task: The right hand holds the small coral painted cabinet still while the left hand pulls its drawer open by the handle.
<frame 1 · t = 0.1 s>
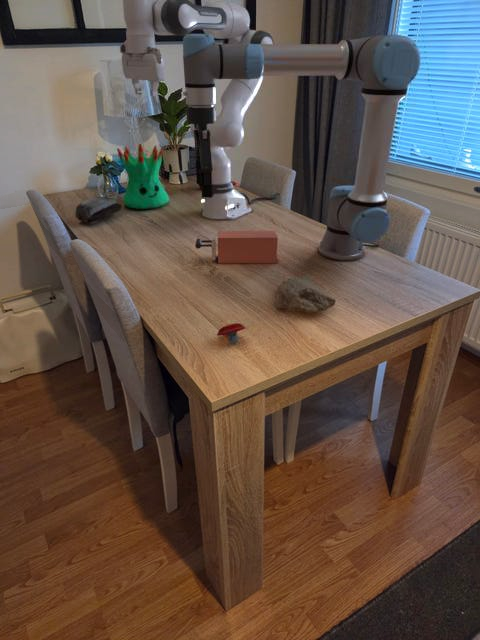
left hand: (146, 95, 149), 48 cm above the table, tool pointing down, fingers open, 8 cm apart
right hand: (204, 190, 124), 28 cm above the table, tool pointing down, fingers open, 13 cm apart
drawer: (231, 247, 150), point 5 cm above the table, slide at 0.9 cm
toy 2: (146, 204, 204), on the table
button: (231, 340, 110), on the table
artifact: (300, 303, 126), on the table
cabinet: (247, 259, 152), on the table
toy: (211, 189, 225), on the table
rock: (100, 219, 186), on the table
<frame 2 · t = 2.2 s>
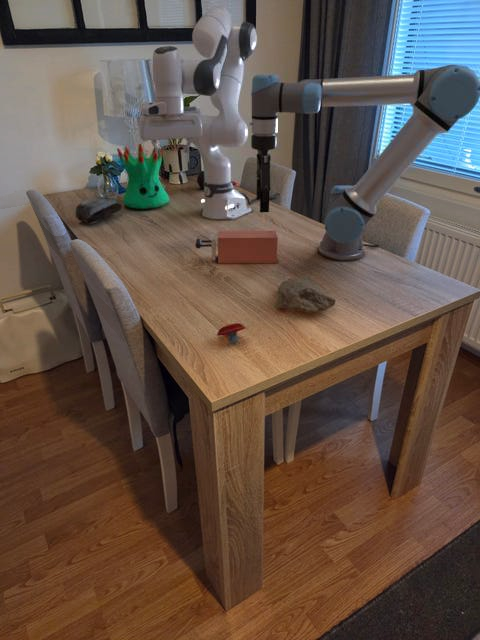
left hand: (172, 153, 146), 32 cm above the table, tool pointing down, fingers open, 8 cm apart
right hand: (262, 205, 142), 19 cm above the table, tool pointing down, fingers open, 13 cm apart
nothing on the table moved.
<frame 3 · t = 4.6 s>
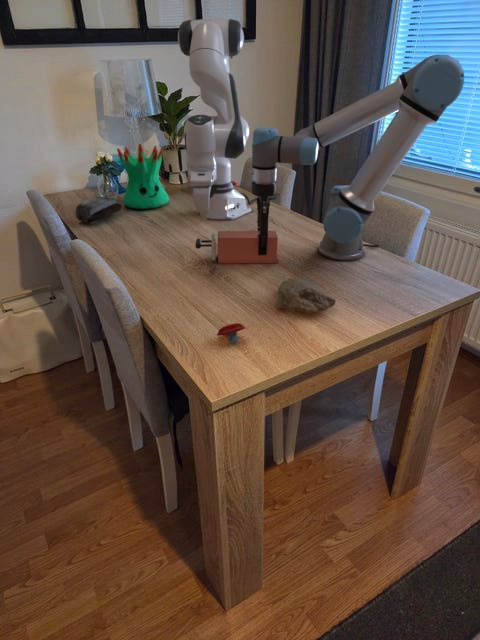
left hand: (204, 217, 144), 15 cm above the table, tool pointing down, fingers open, 4 cm apart
right hand: (261, 250, 150), 3 cm above the table, tool pointing down, fingers closed on cabinet, 6 cm apart
cabinet: (247, 259, 152), on the table, touching right hand
everything else where it was.
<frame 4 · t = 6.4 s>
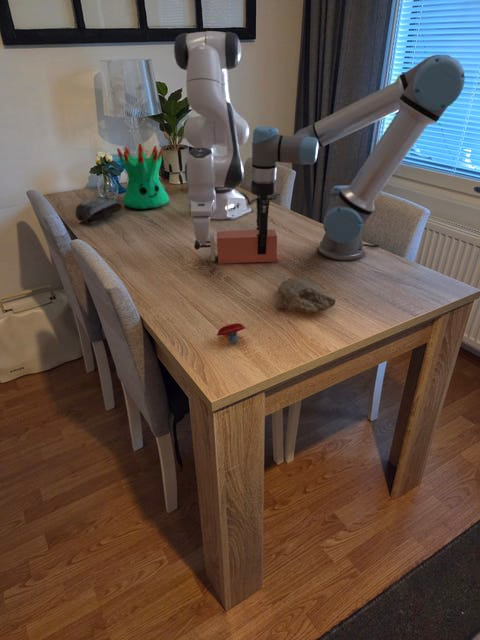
left hand: (203, 244, 148), 6 cm above the table, tool pointing down, fingers closed, pressing on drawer
right hand: (260, 249, 150), 4 cm above the table, tool pointing down, fingers closed on cabinet, 6 cm apart
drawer: (230, 246, 149), point 5 cm above the table, slide at 1.1 cm, touching left hand
cabinet: (246, 258, 152), on the table, touching right hand
everything else where it was.
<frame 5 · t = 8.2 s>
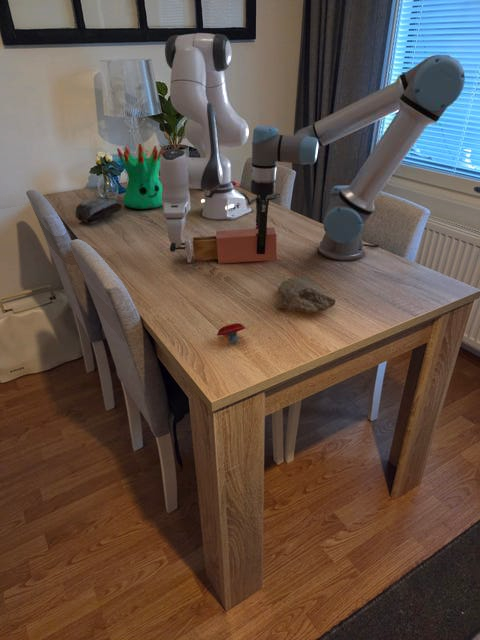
left hand: (179, 245, 148), 5 cm above the table, tool pointing down, fingers closed
right hand: (259, 249, 150), 4 cm above the table, tool pointing down, fingers closed on cabinet, 6 cm apart
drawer: (206, 248, 149), point 4 cm above the table, slide at 9.2 cm, touching left hand
cabinet: (247, 257, 152), point 1 cm above the table, touching right hand
everything else where it was.
when the right hand's fingers open (3 cm above the table, at t = 9.5 s): cabinet stays where it is, on the table.
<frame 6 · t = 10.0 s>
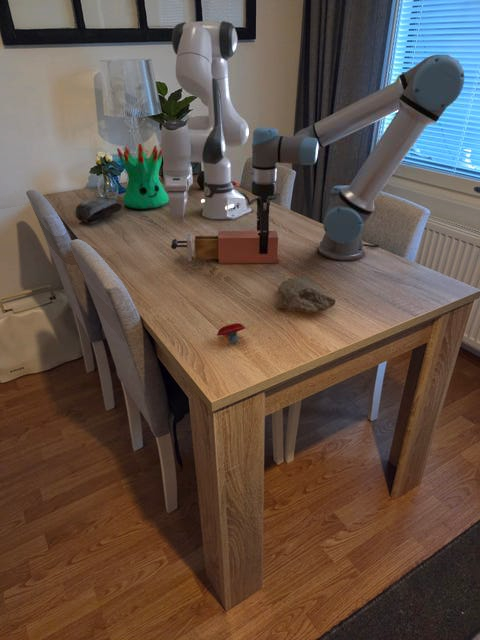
left hand: (181, 221, 144), 14 cm above the table, tool pointing down, fingers closed
right hand: (261, 245, 150), 5 cm above the table, tool pointing down, fingers open, 13 cm apart
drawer: (207, 247, 149), point 5 cm above the table, slide at 9.1 cm
cabinet: (247, 259, 152), on the table
everything else where it was.
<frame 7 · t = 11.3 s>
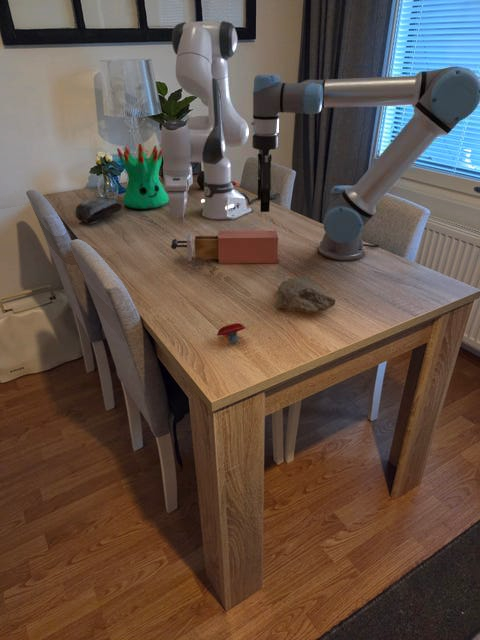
left hand: (181, 221, 144), 14 cm above the table, tool pointing down, fingers closed
right hand: (263, 205, 142), 19 cm above the table, tool pointing down, fingers open, 13 cm apart
nothing on the table moved.
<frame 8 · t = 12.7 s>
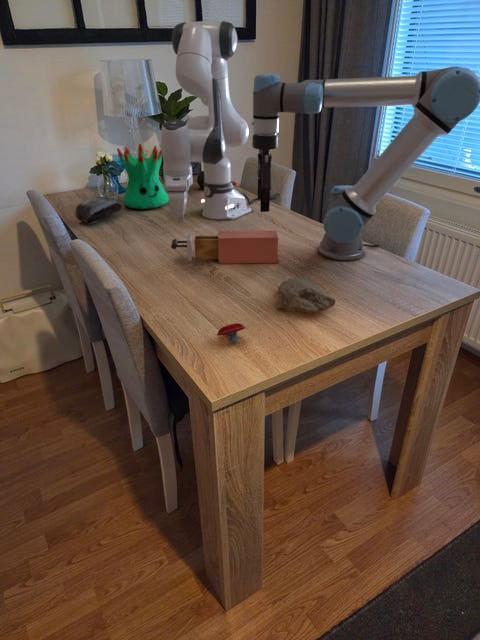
left hand: (181, 221, 144), 14 cm above the table, tool pointing down, fingers closed
right hand: (263, 204, 142), 19 cm above the table, tool pointing down, fingers open, 13 cm apart
nothing on the table moved.
at the end: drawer slide at 9.1 cm; cabinet tilted 0°; cabinet never tilted more than 4° during the clip; cabinet moved 0.2 cm from its start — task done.
